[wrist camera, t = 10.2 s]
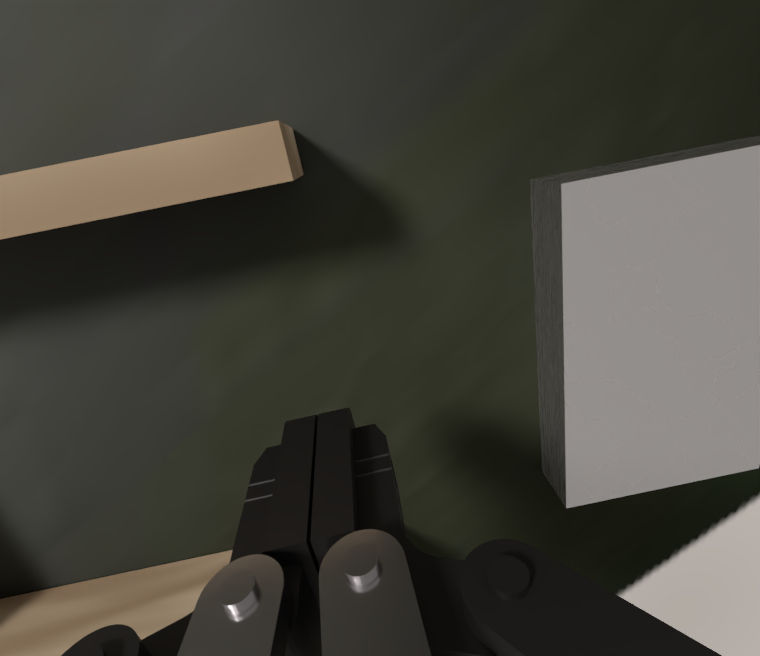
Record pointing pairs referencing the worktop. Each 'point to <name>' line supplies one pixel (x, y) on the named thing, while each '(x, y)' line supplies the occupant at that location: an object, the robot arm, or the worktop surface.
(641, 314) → the cover plate
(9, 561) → the worktop surface
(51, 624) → the wooden bracket
